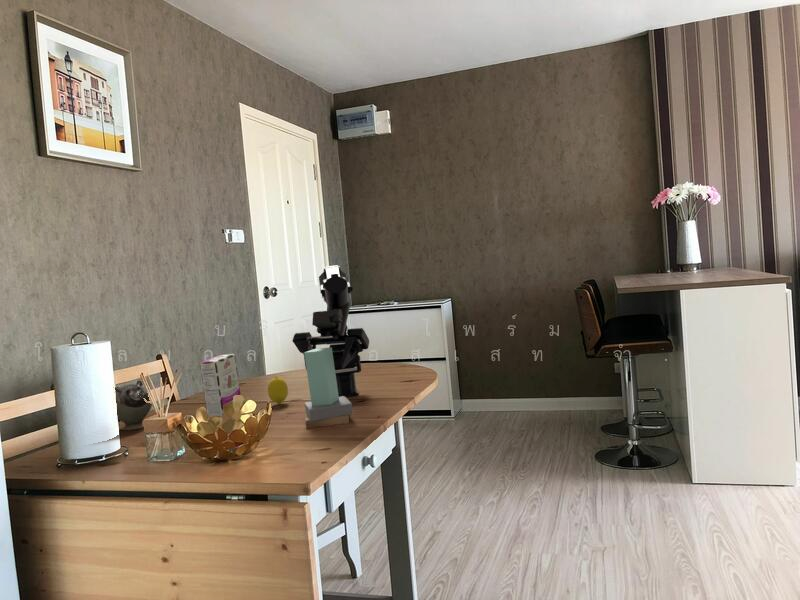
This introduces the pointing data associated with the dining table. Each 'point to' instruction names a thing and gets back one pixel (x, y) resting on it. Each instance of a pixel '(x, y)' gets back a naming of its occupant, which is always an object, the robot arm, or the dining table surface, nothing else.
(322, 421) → the bottom slab
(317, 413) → the top slab
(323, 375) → the pillar
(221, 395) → the candy bar box
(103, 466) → the dining table surface
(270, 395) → the lemon
